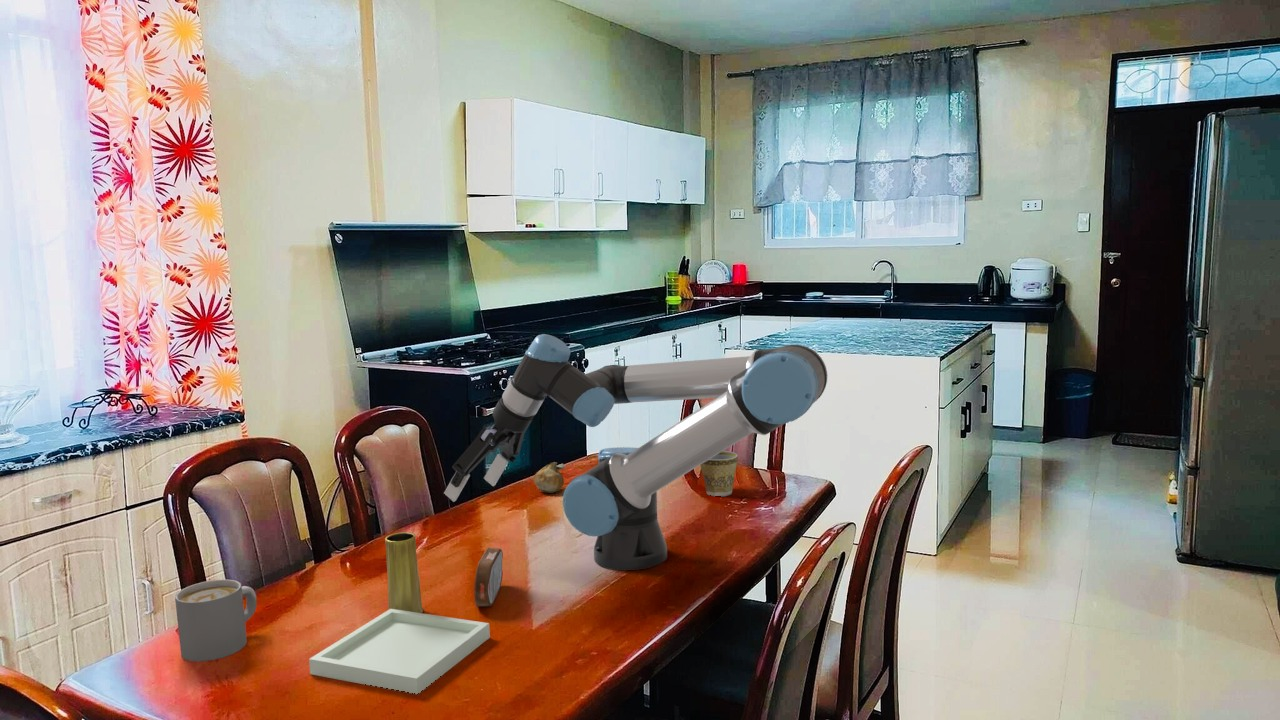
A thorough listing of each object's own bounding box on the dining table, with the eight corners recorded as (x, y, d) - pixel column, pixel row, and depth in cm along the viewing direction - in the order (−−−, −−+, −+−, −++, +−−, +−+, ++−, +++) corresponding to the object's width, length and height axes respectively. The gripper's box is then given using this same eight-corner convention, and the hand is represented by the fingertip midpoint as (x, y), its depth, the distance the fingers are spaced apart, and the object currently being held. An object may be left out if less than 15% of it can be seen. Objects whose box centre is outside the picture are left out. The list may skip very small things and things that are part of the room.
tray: (489, 637, 149) (489, 623, 149) (417, 694, 131) (416, 678, 131) (391, 622, 157) (390, 608, 156) (310, 674, 138) (309, 658, 138)
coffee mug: (198, 667, 142) (191, 607, 141) (170, 651, 148) (164, 593, 147) (277, 637, 152) (272, 580, 151) (248, 623, 159) (243, 569, 157)
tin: (490, 582, 174) (488, 541, 173) (506, 582, 174) (504, 540, 173) (473, 614, 159) (471, 569, 158) (491, 614, 159) (488, 568, 158)
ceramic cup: (740, 498, 225) (739, 459, 223) (700, 499, 225) (699, 460, 224) (735, 484, 238) (734, 447, 236) (698, 485, 238) (697, 448, 236)
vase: (429, 608, 162) (424, 532, 160) (410, 622, 157) (405, 543, 155) (401, 605, 164) (395, 530, 162) (381, 618, 159) (375, 541, 157)
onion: (538, 488, 241) (537, 459, 240) (567, 488, 240) (566, 459, 239) (531, 496, 233) (529, 466, 232) (561, 496, 232) (559, 466, 231)
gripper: (537, 387, 187) (491, 465, 193) (466, 403, 164) (418, 491, 171) (563, 408, 184) (516, 487, 191) (495, 428, 162) (445, 516, 168)
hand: (470, 489), depth 181 cm, fingers open, 13 cm apart
